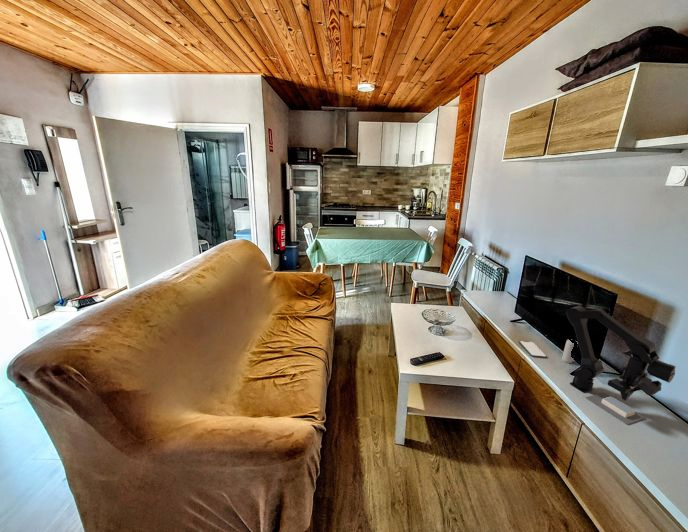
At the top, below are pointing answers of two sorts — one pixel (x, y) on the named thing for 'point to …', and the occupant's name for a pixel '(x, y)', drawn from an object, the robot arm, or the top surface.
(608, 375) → the top surface
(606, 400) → the block
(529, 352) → the phone case
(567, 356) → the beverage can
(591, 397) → the mat
